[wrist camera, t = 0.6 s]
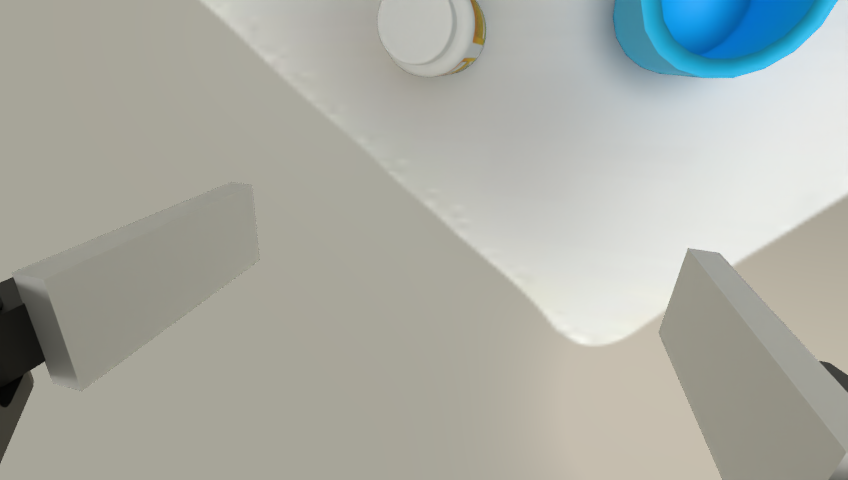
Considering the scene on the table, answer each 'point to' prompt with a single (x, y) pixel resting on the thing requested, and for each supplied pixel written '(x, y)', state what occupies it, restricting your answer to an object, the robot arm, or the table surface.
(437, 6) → the supplement bottle
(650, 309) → the table surface
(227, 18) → the table surface
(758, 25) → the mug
